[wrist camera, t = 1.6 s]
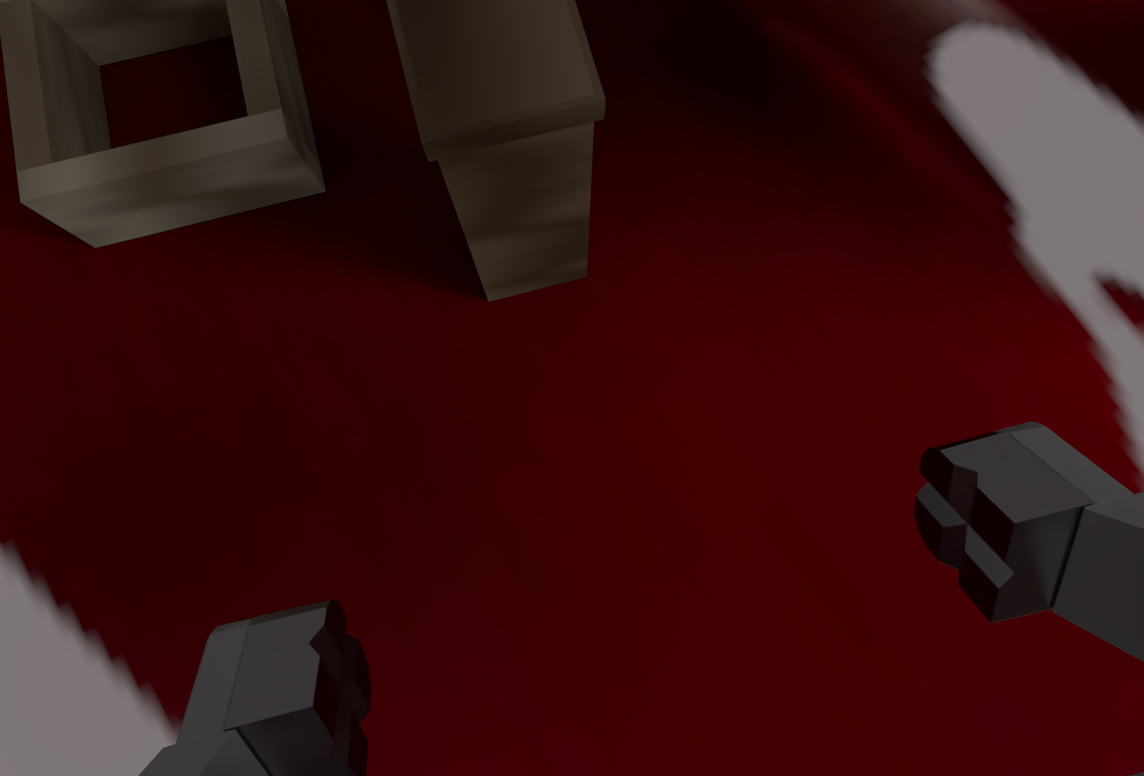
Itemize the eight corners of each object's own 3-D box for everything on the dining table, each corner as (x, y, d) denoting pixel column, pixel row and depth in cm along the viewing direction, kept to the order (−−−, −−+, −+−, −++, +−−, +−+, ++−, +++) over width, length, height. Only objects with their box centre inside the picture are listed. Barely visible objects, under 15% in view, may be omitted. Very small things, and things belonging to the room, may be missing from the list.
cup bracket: (284, -2, 31) (233, -98, 27) (325, 191, 29) (278, 125, 25) (67, 48, 31) (-24, -40, 26) (95, 247, 29) (2, 191, 24)
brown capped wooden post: (564, 181, 30) (557, -56, 18) (592, 280, 29) (605, 99, 17) (459, 207, 29) (382, -15, 18) (484, 307, 28) (421, 144, 17)
